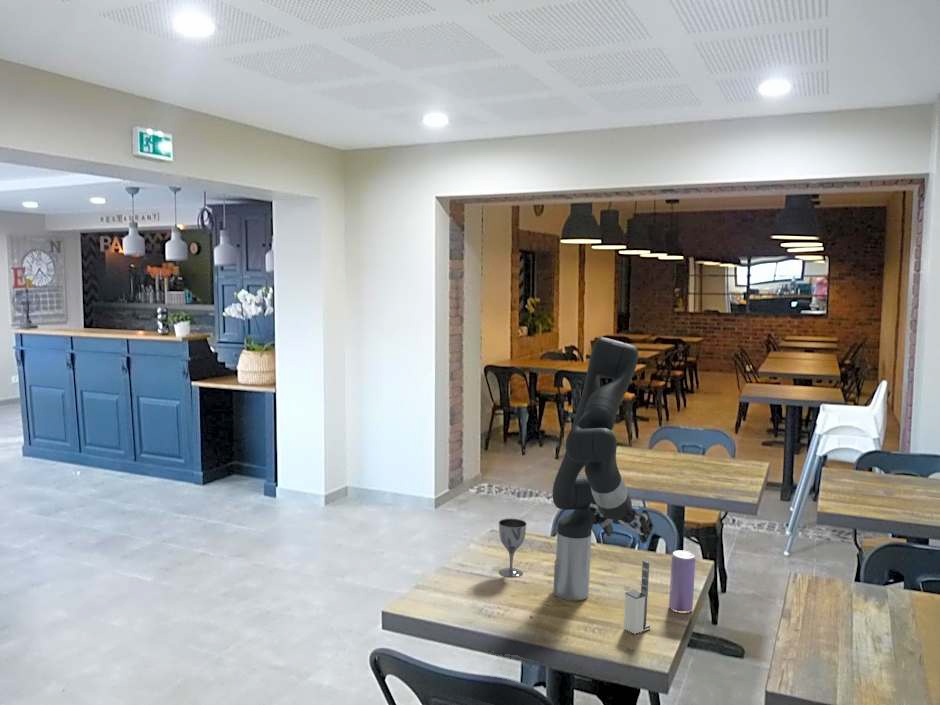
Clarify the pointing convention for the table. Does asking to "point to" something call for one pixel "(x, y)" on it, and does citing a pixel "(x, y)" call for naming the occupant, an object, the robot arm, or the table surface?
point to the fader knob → (634, 611)
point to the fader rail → (645, 589)
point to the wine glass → (512, 542)
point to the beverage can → (682, 581)
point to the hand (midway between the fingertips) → (627, 536)
